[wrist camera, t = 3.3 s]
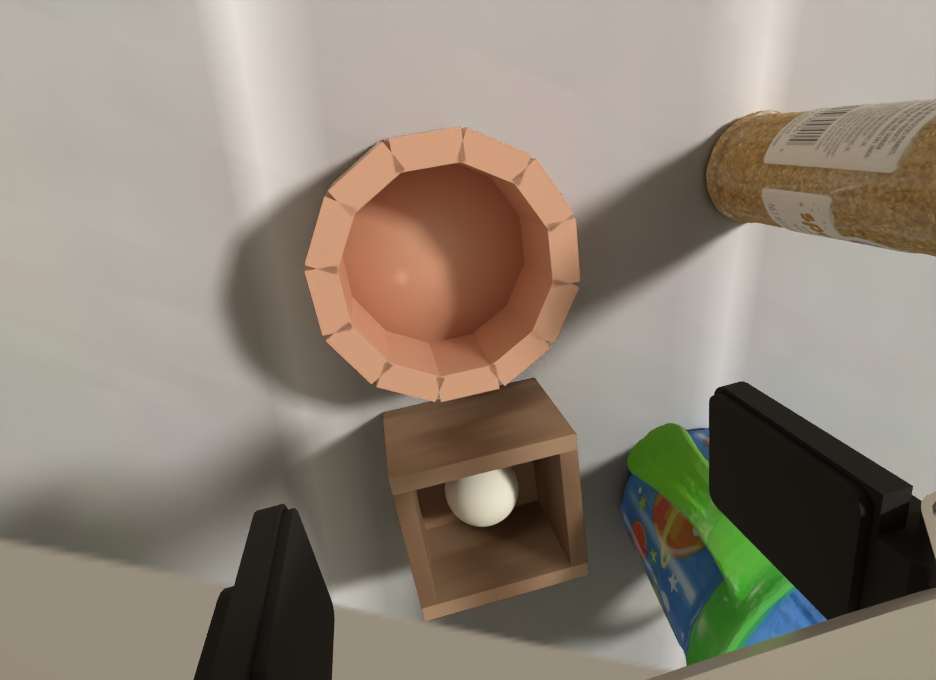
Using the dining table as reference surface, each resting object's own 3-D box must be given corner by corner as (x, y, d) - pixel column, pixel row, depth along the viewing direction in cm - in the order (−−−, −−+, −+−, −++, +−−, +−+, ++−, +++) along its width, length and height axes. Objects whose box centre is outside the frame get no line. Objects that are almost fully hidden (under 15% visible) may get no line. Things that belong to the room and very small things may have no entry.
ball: (503, 429, 24) (523, 469, 21) (511, 486, 25) (531, 531, 22) (434, 445, 24) (445, 489, 21) (446, 503, 25) (458, 551, 22)
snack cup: (810, 516, 31) (1006, 680, 21) (660, 617, 31) (789, 819, 22) (710, 316, 25) (923, 422, 15) (526, 445, 25) (625, 623, 16)
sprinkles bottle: (705, 233, 23) (1101, 339, 11) (698, 124, 21) (1162, 101, 9) (798, 205, 24) (1285, 276, 11) (799, 96, 22) (1376, 37, 9)
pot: (529, 114, 20) (567, 108, 16) (551, 332, 23) (587, 368, 20) (289, 155, 19) (272, 158, 15) (349, 377, 22) (347, 424, 19)
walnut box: (534, 377, 24) (575, 433, 19) (549, 500, 27) (588, 575, 22) (382, 412, 23) (388, 479, 19) (413, 535, 26) (424, 621, 21)
